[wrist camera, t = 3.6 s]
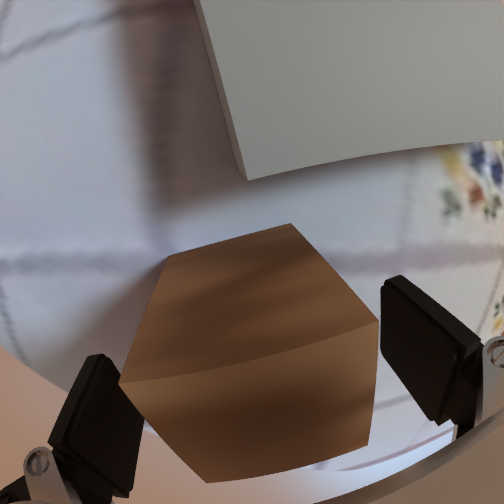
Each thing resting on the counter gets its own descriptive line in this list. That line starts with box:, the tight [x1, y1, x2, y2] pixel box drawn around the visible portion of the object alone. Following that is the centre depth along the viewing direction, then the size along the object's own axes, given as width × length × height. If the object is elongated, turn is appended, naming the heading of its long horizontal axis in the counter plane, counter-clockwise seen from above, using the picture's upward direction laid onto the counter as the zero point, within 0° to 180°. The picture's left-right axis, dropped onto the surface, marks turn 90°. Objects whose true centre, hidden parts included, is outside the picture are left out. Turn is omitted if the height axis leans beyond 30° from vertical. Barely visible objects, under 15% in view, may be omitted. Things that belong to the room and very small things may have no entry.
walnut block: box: [118, 223, 379, 483], centre depth 9 cm, size 5×5×7 cm
